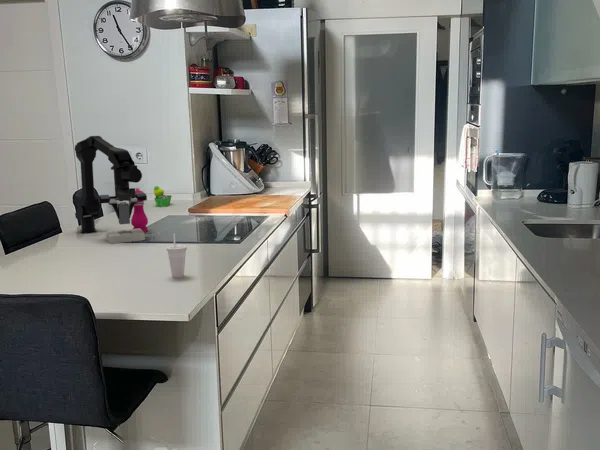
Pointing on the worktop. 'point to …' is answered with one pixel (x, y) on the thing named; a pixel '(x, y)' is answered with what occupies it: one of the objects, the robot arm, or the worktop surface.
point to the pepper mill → (139, 214)
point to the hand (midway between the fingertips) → (124, 218)
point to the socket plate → (125, 235)
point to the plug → (124, 213)
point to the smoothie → (177, 259)
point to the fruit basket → (161, 197)
